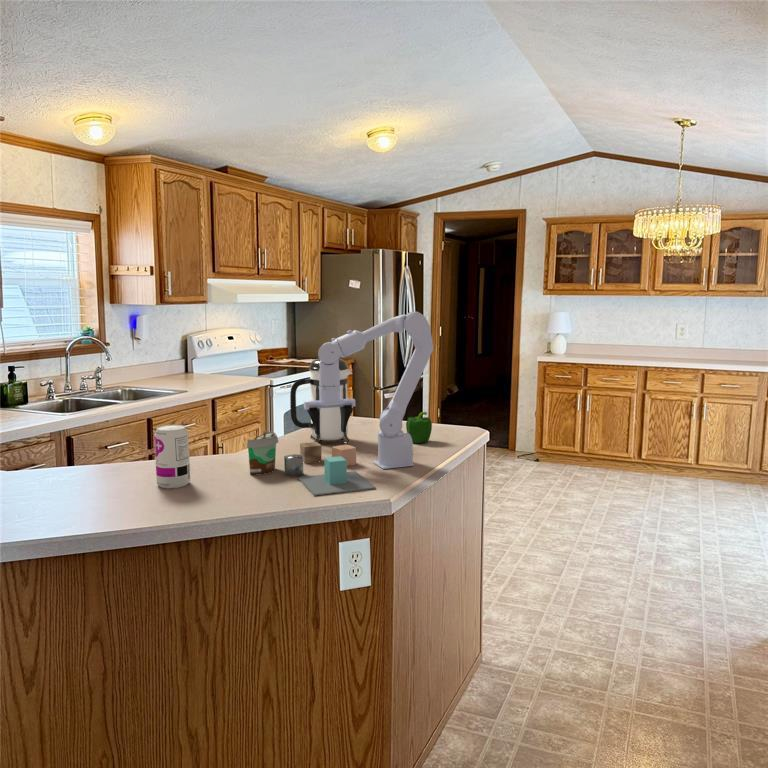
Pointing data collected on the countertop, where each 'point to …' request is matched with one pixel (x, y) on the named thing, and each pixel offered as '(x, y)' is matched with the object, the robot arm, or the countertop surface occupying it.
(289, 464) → the metal canister
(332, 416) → the coffee press
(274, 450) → the food container
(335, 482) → the teal block
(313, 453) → the walnut block
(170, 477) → the supplement can
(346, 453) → the terracotta block
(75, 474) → the countertop surface
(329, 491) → the mat
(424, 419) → the bell pepper
